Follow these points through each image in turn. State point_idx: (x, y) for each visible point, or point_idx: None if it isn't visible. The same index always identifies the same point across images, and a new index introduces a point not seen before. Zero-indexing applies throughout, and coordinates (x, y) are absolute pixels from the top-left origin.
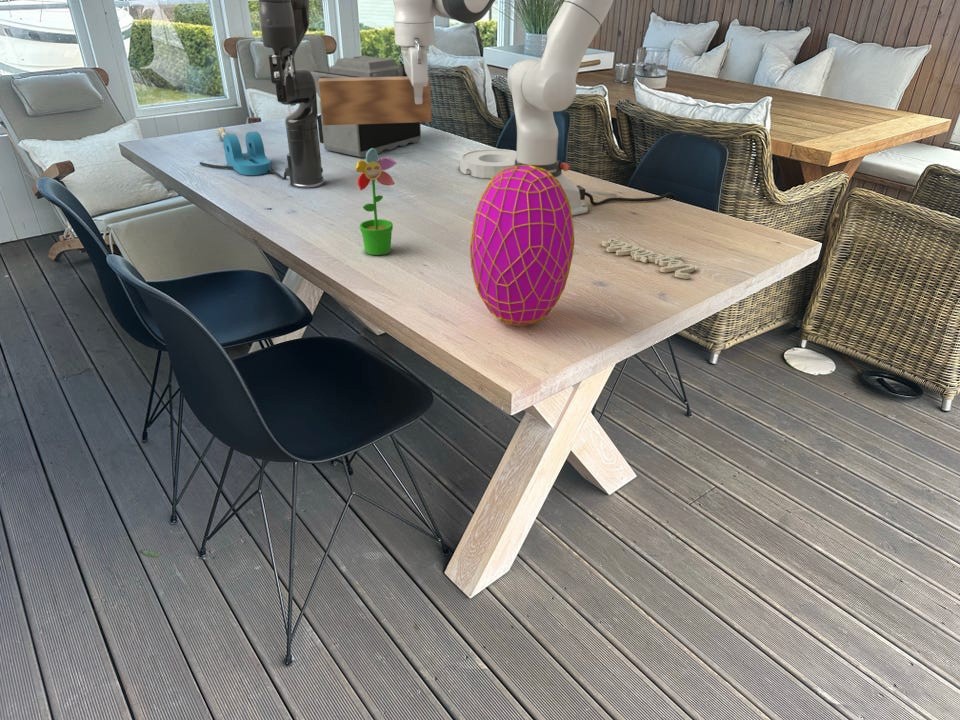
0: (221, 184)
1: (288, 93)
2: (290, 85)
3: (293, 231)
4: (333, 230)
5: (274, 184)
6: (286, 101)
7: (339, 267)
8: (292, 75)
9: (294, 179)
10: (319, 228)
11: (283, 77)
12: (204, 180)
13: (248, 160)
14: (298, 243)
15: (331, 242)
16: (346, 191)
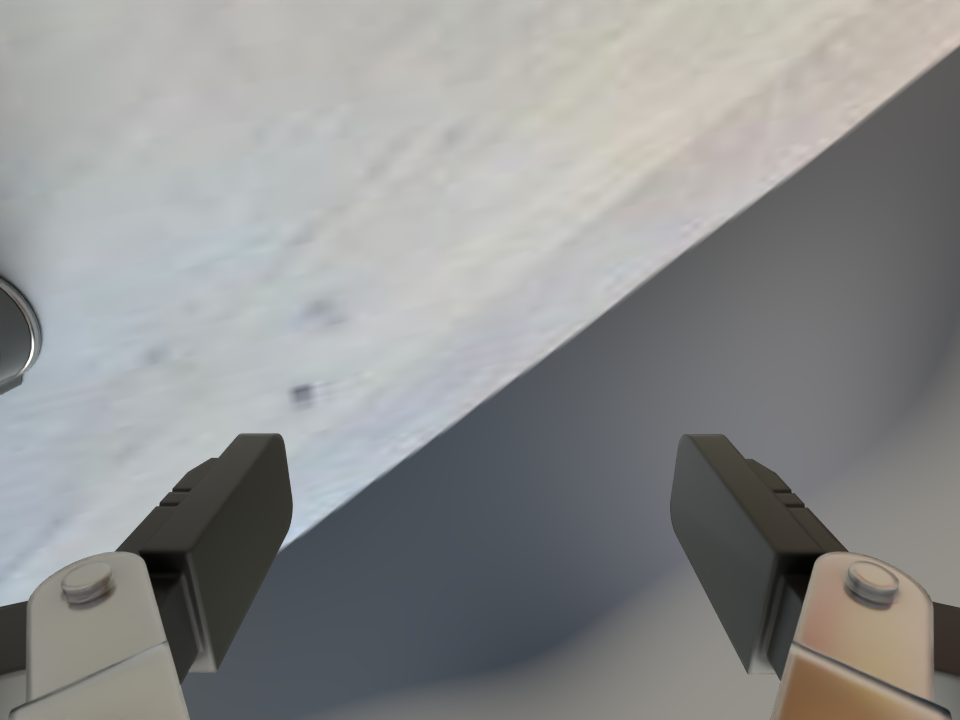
0: None
1: (282, 508)
2: (236, 539)
3: (523, 265)
4: (514, 118)
5: (25, 441)
6: (717, 436)
7: (888, 27)
8: (158, 610)
9: (9, 374)
10: (492, 178)
11: (922, 675)
12: None
13: None
14: (640, 223)
15: (640, 103)
16: (27, 147)
